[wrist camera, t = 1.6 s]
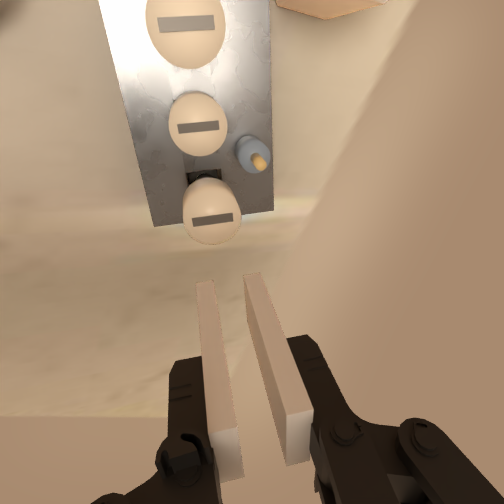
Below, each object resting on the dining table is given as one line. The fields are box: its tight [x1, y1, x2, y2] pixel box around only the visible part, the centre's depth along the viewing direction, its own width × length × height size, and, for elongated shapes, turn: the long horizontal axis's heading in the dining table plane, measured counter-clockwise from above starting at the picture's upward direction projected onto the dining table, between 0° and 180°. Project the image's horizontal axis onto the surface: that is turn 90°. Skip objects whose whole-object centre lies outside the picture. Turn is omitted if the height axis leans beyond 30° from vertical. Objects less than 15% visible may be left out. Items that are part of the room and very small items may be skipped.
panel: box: [99, 0, 274, 227], centre depth 27 cm, size 11×17×5 cm, turn 4°
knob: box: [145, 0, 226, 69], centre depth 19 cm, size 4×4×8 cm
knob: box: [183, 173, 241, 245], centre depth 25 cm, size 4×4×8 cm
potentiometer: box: [235, 135, 271, 173], centre depth 25 cm, size 2×2×4 cm
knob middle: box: [169, 91, 227, 156], centre depth 25 cm, size 4×4×8 cm
